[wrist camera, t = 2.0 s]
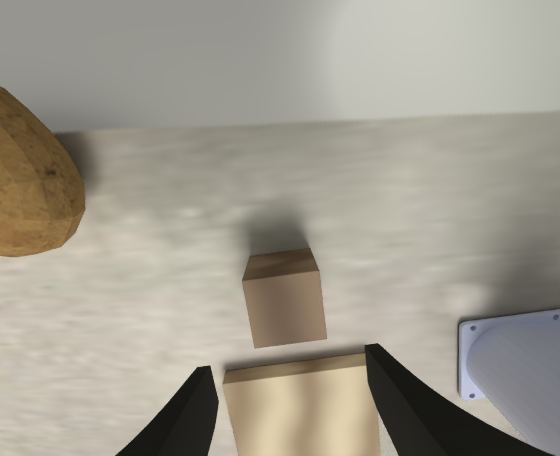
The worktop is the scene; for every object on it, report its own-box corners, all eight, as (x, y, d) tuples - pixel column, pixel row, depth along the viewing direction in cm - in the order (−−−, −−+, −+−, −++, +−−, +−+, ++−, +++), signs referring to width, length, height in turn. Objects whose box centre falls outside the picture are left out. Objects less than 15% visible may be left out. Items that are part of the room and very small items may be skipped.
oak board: (367, 352, 24) (373, 364, 22) (380, 507, 28) (386, 526, 27) (225, 371, 24) (222, 384, 23) (259, 521, 28) (258, 541, 27)
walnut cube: (310, 247, 22) (319, 270, 17) (316, 302, 23) (327, 338, 18) (250, 256, 22) (242, 281, 17) (259, 310, 23) (254, 348, 18)
